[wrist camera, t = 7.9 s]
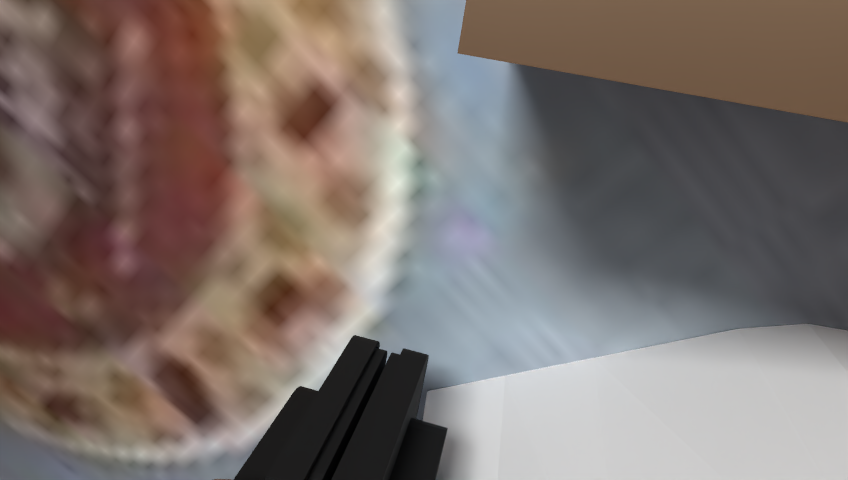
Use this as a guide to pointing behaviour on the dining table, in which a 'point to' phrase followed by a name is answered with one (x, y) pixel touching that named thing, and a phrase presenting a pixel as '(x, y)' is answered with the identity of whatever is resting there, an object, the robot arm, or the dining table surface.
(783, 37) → the open wooden box
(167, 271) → the dining table surface
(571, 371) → the toilet paper
